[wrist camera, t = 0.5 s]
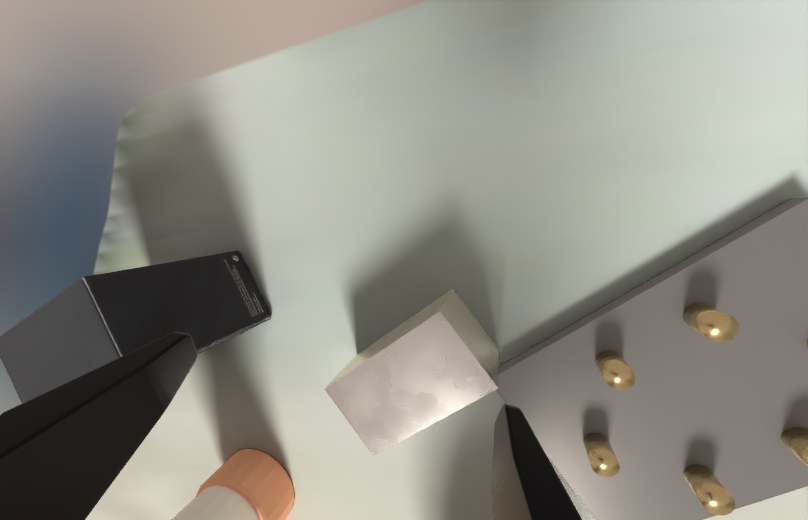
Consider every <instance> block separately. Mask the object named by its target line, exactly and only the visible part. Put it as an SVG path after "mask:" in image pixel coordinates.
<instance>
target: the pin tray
mask: <svg viewBox="0 0 808 520" xmlns="http://www.w3.org/2000/svg"><path fill="white" fill-rule="evenodd" d="M497 391H498V393H499V394H500V395H501V396H502V398H503V399H504V400H505V402H506V403H507V404H508V405H511V406H516V407H519V408H520V409H521V411H522V412H523V414H524V416H525V418H526V419H527V421H528V423H529V425H530V427H531V428H532V430H533V432H534V434H535V436H536V437H537V439H538V441H539V443H540V445H541V447H542V448H543V450H544V452H545V454H546V455H547V456H548V458H549V459H550V460H551V462H552V463H553V464H554V466H555V467H556V468H557V470H558V471H559V472H560V473H561V475H562V476H563V477H564V479H565V480H566V481H567V483H568V484H569V485H570V487H571V488H572V489H573V490H574V492H575V493H576V494H577V496H578V497H579V498H580V500H581V501H582V502H583V503H584V505H585V506H586V507H587V509H588V510H589V511H590V513H591V514H592V515H593V517H594V518H595V519H596V520H703V519H706V518H709V517H712V516H715V515H727V514H729V513H731V512H732V511H733V510H734V509H737V508H740V507H743V506H747V505H750V504H753V503H756V502H759V501H762V500H765V499H768V498H772V497H775V496H778V495H781V494H784V493H787V492H790V491H793V490H797V489H800V488H803V487H806V486H808V198H802V199H789V200H787V201H786V202H784V203H782V204H780V205H779V206H777V207H775V208H774V209H772V210H770V211H768V212H767V213H765V214H763V215H761V216H760V217H758V218H756V219H754V220H753V221H751V222H749V223H747V224H746V225H744V226H742V227H741V228H739V229H737V230H735V231H734V232H732V233H730V234H728V235H727V236H725V237H723V238H721V239H720V240H718V241H716V242H714V243H713V244H711V245H709V246H707V247H706V248H704V249H702V250H701V251H699V252H697V253H695V254H694V255H692V256H690V257H688V258H687V259H685V260H683V261H681V262H680V263H678V264H676V265H674V266H673V267H671V268H669V269H668V270H666V271H664V272H662V273H661V274H659V275H657V276H655V277H654V278H652V279H650V280H648V281H647V282H645V283H643V284H641V285H640V286H638V287H636V288H634V289H633V290H631V291H629V292H628V293H626V294H624V295H622V296H621V297H619V298H617V299H615V300H614V301H612V302H610V303H608V304H607V305H605V306H603V307H601V308H600V309H598V310H596V311H595V312H593V313H591V314H589V315H588V316H586V317H584V318H582V319H581V320H579V321H577V322H575V323H574V324H572V325H570V326H568V327H567V328H565V329H563V330H561V331H560V332H558V333H556V334H555V335H553V336H551V337H549V338H548V339H546V340H544V341H542V342H541V343H539V344H537V345H535V346H534V347H532V348H530V349H528V350H527V351H525V352H523V353H522V354H520V355H518V356H516V357H515V358H513V359H511V360H509V361H508V362H506V363H504V364H502V365H501V366H499V385H498V389H497Z"/></svg>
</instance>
